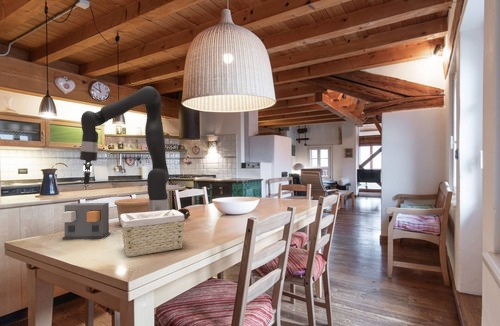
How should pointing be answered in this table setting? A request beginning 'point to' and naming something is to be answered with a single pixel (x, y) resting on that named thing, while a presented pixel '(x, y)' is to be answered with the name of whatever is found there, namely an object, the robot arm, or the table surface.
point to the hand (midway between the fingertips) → (86, 182)
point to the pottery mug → (184, 212)
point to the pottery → (132, 206)
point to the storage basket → (152, 231)
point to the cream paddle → (69, 216)
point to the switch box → (84, 228)
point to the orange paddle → (93, 216)
